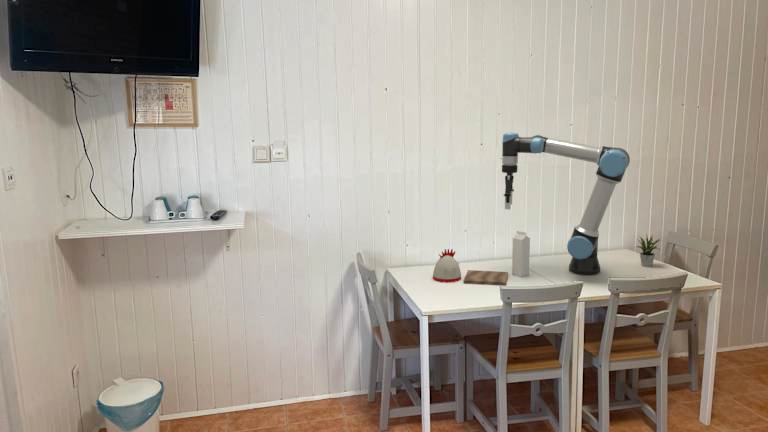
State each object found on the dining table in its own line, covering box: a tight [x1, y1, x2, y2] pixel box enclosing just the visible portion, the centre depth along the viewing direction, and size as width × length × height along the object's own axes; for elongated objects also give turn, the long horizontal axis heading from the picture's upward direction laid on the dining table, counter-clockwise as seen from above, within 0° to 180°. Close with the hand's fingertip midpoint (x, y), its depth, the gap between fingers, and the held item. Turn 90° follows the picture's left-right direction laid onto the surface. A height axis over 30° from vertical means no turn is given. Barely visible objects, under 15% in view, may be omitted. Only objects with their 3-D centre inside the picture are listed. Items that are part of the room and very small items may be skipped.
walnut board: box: [462, 269, 509, 286], centre depth 304 cm, size 20×18×2 cm
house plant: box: [635, 234, 663, 268], centre depth 318 cm, size 14×14×16 cm
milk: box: [511, 230, 531, 278], centre depth 308 cm, size 6×6×22 cm
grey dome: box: [432, 248, 462, 283], centre depth 306 cm, size 14×14×15 cm
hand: (508, 206), depth 311 cm, fingers open, 13 cm apart
